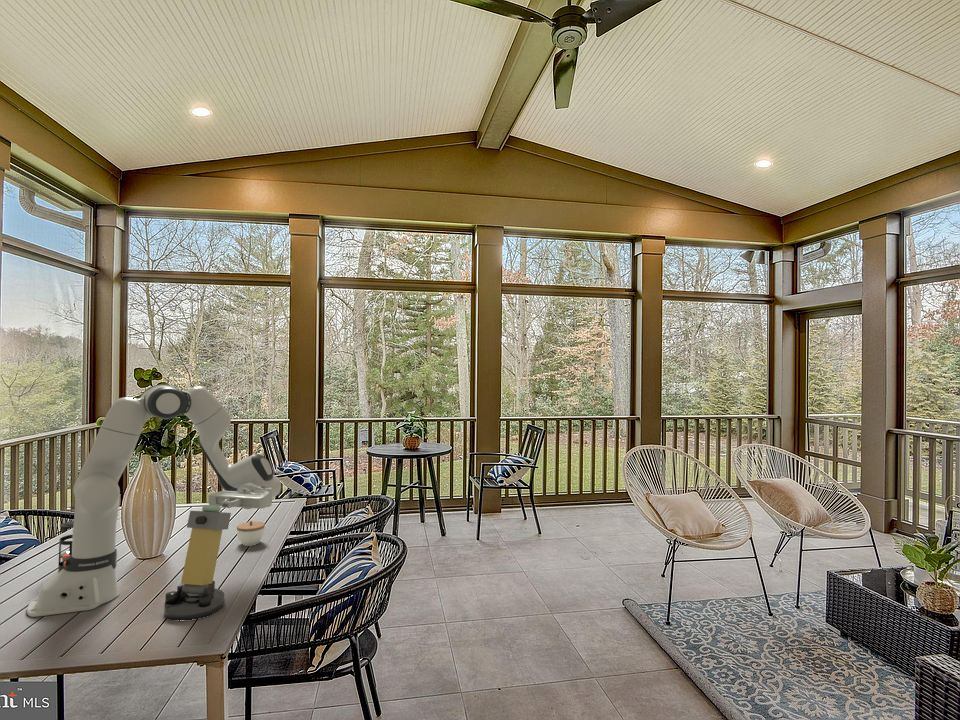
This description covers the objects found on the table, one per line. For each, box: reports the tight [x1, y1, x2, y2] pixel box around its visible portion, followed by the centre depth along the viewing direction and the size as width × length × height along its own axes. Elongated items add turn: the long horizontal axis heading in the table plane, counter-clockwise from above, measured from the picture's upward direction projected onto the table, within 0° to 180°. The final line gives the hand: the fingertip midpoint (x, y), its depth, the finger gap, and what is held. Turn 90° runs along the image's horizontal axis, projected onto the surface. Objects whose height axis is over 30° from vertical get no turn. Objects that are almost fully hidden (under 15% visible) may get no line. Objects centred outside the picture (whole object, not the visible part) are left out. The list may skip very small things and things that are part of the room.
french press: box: [57, 505, 75, 573], centre depth 186 cm, size 12×9×23 cm
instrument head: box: [180, 504, 232, 595], centre depth 161 cm, size 8×10×26 cm
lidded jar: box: [236, 520, 266, 547], centre depth 218 cm, size 11×11×9 cm
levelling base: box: [163, 580, 225, 622], centre depth 159 cm, size 16×16×7 cm
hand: (225, 505), depth 173 cm, fingers closed
